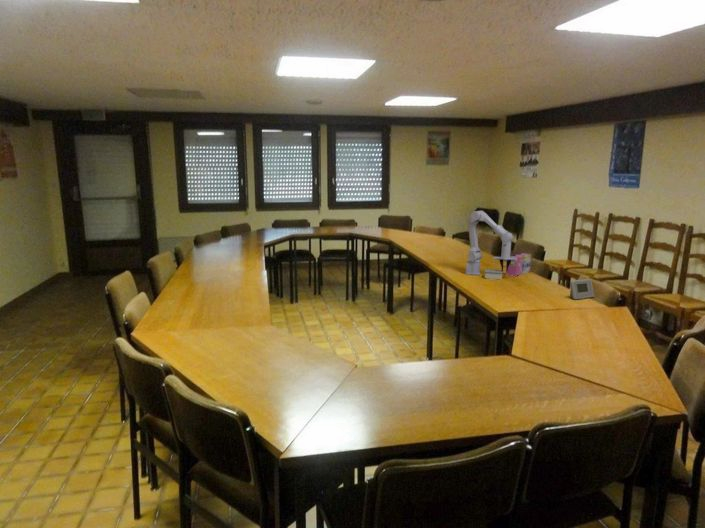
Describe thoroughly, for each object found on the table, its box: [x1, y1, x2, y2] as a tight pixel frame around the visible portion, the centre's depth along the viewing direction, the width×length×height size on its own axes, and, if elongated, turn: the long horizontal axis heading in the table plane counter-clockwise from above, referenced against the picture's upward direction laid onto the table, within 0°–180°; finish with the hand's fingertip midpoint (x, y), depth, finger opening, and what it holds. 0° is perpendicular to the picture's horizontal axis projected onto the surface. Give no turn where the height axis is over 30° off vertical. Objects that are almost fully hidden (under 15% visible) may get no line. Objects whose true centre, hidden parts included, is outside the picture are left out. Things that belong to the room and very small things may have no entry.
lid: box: [484, 265, 506, 275], centre depth 323 cm, size 14×9×4 cm, turn 74°
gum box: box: [505, 251, 532, 277], centre depth 338 cm, size 24×8×14 cm, turn 135°
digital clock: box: [569, 278, 595, 300], centre depth 277 cm, size 16×9×11 cm, turn 103°
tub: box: [484, 272, 503, 280], centre depth 324 cm, size 11×8×4 cm
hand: (504, 270), depth 321 cm, fingers closed on lid, 2 cm apart
